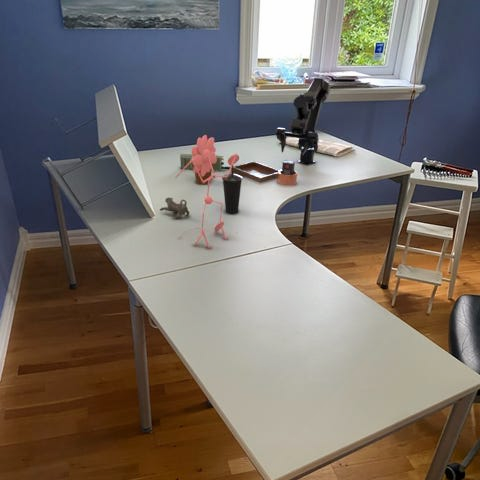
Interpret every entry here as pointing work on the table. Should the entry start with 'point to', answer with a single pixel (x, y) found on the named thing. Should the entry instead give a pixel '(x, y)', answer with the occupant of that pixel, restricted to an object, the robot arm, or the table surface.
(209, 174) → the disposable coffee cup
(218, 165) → the handheld radio
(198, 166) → the figurine
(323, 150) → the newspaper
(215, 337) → the table surface
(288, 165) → the dark grey block
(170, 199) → the dog figurine
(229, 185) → the drinking cup
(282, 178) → the holder cup
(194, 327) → the table surface
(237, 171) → the tray
